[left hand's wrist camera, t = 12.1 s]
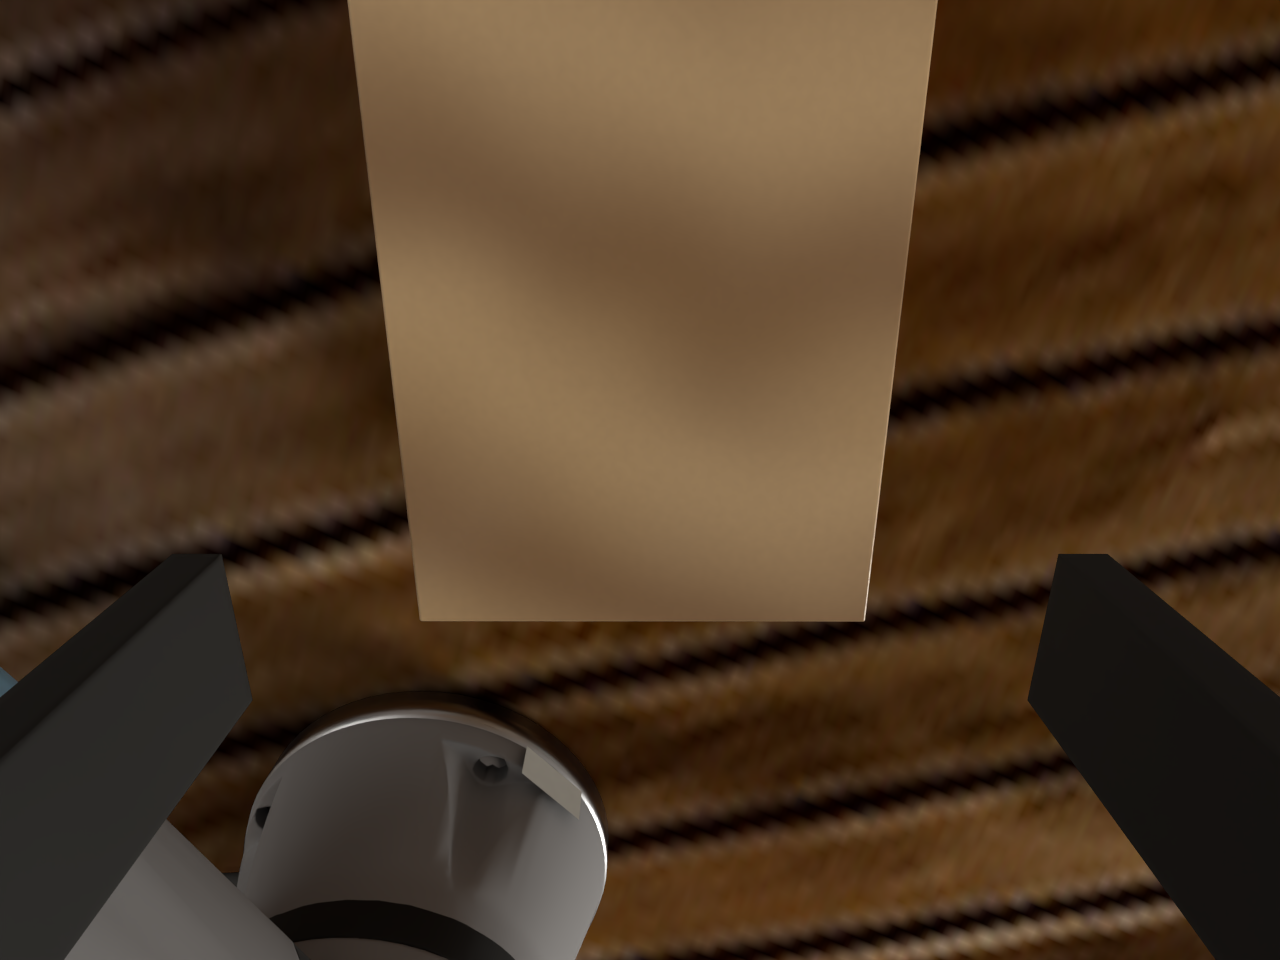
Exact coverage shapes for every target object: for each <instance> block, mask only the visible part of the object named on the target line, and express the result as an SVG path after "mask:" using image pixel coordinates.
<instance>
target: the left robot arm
mask: <svg viewBox="0 0 1280 960" xmlns="http://www.w3.org/2000/svg"><path fill="white" fill-rule="evenodd" d="M251 701H252V695H251V691H250V686H249V681H248V677H247V672H246V667H245V663H244V658H243V653H242V648H241V644H240V639H239V634H238V630H237V625H236V620H235V616H234V611H233V606H232V601H231V597H230V592H229V587H228V583H227V578H226V573H225V568H224V564H223V559H222V554H172V555H171V556H170V557H168V558H167V559H166V560H165V561H164V562H162V563H161V564H160V565H159V566H158V567H156V568H155V569H154V570H153V571H152V572H150V573H149V574H148V575H147V576H146V577H144V578H143V579H142V580H141V581H139V582H138V583H137V584H136V585H135V586H133V587H132V588H131V589H130V590H129V591H127V592H126V593H125V594H124V595H123V596H121V597H120V598H119V599H118V600H117V601H115V602H114V603H113V604H112V605H111V606H109V607H108V608H107V609H106V610H105V611H103V612H102V613H101V614H100V615H99V616H97V617H96V618H95V619H94V620H93V621H91V622H90V623H89V624H88V625H87V626H85V627H84V628H83V629H82V630H81V631H79V632H78V633H77V634H76V635H74V636H73V637H72V638H71V639H70V640H68V641H67V642H66V643H65V644H64V645H62V646H61V647H60V648H59V649H58V650H56V651H55V652H54V653H53V654H52V655H50V656H49V657H48V658H47V659H46V660H44V661H43V662H42V663H41V664H40V665H38V666H37V667H36V668H35V669H34V670H32V671H31V672H30V673H29V674H28V675H26V676H25V677H24V678H23V679H22V680H20V681H19V682H17V681H16V680H15V679H14V678H13V677H12V676H10V675H9V674H8V673H7V672H6V671H5V670H3V669H2V668H1V667H0V960H575V959H576V956H577V954H578V952H579V949H580V947H581V945H582V942H583V940H584V937H585V935H586V933H587V930H588V928H589V926H590V924H591V922H592V920H593V918H594V916H595V913H596V911H597V908H598V905H599V903H600V900H601V897H602V894H603V891H604V886H605V881H606V871H607V853H608V823H607V818H606V812H605V809H604V805H603V802H602V799H601V796H600V794H599V792H598V790H597V787H596V785H595V783H594V782H593V780H592V778H591V777H590V775H589V773H588V772H587V770H586V769H585V768H584V766H583V765H582V764H581V762H580V761H579V760H578V759H577V758H576V757H575V755H574V754H573V753H572V752H571V751H570V750H569V749H568V748H567V747H566V746H565V745H564V744H563V743H561V742H560V741H559V740H558V739H557V738H556V737H554V736H553V735H552V734H550V733H549V732H548V731H546V730H545V729H544V728H542V727H541V726H539V725H537V724H536V723H534V722H532V721H531V720H529V719H527V718H525V717H523V716H521V715H519V714H517V713H515V712H513V711H511V710H509V709H506V708H504V707H501V706H499V705H496V704H493V703H490V702H487V701H484V700H480V699H477V698H472V697H468V696H463V695H458V694H451V693H444V692H429V691H411V692H397V693H388V694H383V695H378V696H373V697H368V698H365V699H362V700H358V701H355V702H352V703H349V704H347V705H344V706H342V707H339V708H337V709H335V710H333V711H331V712H329V713H327V714H325V715H324V716H322V717H321V718H319V719H318V720H316V721H315V722H313V723H311V724H310V725H309V726H308V727H307V728H305V729H304V730H303V731H302V732H300V733H299V734H298V735H297V736H296V737H295V738H294V739H293V741H292V742H291V743H290V744H289V745H288V746H287V748H286V749H285V750H284V752H283V753H282V754H281V756H280V757H279V759H278V761H277V762H276V764H275V766H274V767H273V769H272V770H271V772H270V774H269V775H268V777H267V779H266V780H265V782H264V784H263V785H262V787H261V789H260V791H259V792H258V794H257V796H256V799H255V801H254V804H253V806H252V810H251V814H250V818H249V822H248V826H247V831H246V836H245V842H244V854H243V859H242V862H241V867H240V872H235V873H221V872H220V871H219V870H218V869H217V868H216V867H215V866H214V865H213V864H212V863H211V862H210V861H209V860H208V859H207V858H206V857H205V856H204V855H203V854H202V853H201V852H200V851H198V850H197V849H196V848H195V847H194V846H193V845H192V844H191V843H190V842H189V841H188V840H187V839H186V838H185V837H184V836H183V835H182V834H181V833H180V832H179V831H178V830H177V829H176V828H175V827H174V826H173V825H172V824H171V823H170V822H169V821H168V820H167V817H168V816H169V815H170V813H171V812H172V810H173V809H174V808H175V806H176V805H177V803H178V802H179V801H180V799H181V798H182V797H183V795H184V794H185V792H186V791H187V790H188V788H189V787H190V786H191V784H192V783H193V781H194V780H195V779H196V777H197V776H198V775H199V773H200V772H201V770H202V769H203V768H204V766H205V765H206V763H207V762H208V761H209V759H210V758H211V757H212V755H213V754H214V752H215V751H216V750H217V748H218V747H219V746H220V744H221V743H222V741H223V740H224V739H225V737H226V736H227V735H228V733H229V732H230V730H231V729H232V728H233V726H234V725H235V724H236V722H237V721H238V719H239V718H240V717H241V715H242V714H243V712H244V711H245V710H246V708H247V707H248V706H249V704H250V703H251ZM1028 701H1029V703H1030V704H1031V706H1032V707H1033V708H1034V710H1035V711H1036V712H1037V714H1038V715H1039V717H1040V718H1041V719H1042V721H1043V722H1044V724H1045V725H1046V726H1047V728H1048V729H1049V730H1050V732H1051V733H1052V735H1053V736H1054V737H1055V739H1056V740H1057V741H1058V743H1059V744H1060V746H1061V747H1062V748H1063V750H1064V751H1065V752H1066V754H1067V755H1068V757H1069V758H1070V759H1071V761H1072V762H1073V763H1074V765H1075V766H1076V768H1077V769H1078V770H1079V772H1080V773H1081V775H1082V776H1083V777H1084V779H1085V780H1086V781H1087V783H1088V784H1089V786H1090V787H1091V788H1092V790H1093V791H1094V792H1095V794H1096V795H1097V797H1098V798H1099V799H1100V801H1101V802H1102V803H1103V805H1104V806H1105V808H1106V809H1107V810H1108V812H1109V813H1110V815H1111V816H1112V817H1113V819H1114V820H1115V821H1116V823H1117V824H1118V826H1119V827H1120V828H1121V830H1122V831H1123V832H1124V834H1125V835H1126V837H1127V838H1128V839H1129V841H1130V842H1131V843H1132V845H1133V846H1134V848H1135V849H1136V850H1137V852H1138V853H1139V855H1140V856H1141V857H1142V859H1143V860H1144V861H1145V863H1146V864H1147V866H1148V867H1149V868H1150V870H1151V871H1152V872H1153V874H1154V875H1155V877H1156V878H1157V879H1158V881H1159V882H1160V883H1161V885H1162V886H1163V888H1164V889H1165V890H1166V892H1167V893H1168V894H1169V896H1170V897H1171V899H1172V900H1173V901H1174V903H1175V904H1176V906H1177V907H1178V908H1179V910H1180V911H1181V912H1182V914H1183V915H1184V917H1185V918H1186V919H1187V921H1188V922H1189V923H1190V925H1191V926H1192V928H1193V929H1194V930H1195V932H1196V933H1197V934H1198V936H1199V937H1200V939H1201V940H1202V941H1203V943H1204V944H1205V946H1206V947H1207V948H1208V950H1209V951H1210V952H1211V954H1212V955H1213V957H1214V958H1215V959H1216V960H1280V697H1279V696H1278V695H1277V694H1275V693H1274V692H1273V691H1272V690H1271V689H1269V688H1268V687H1267V686H1266V685H1264V684H1263V683H1262V682H1261V681H1260V680H1258V679H1257V678H1256V677H1255V676H1254V675H1252V674H1251V673H1250V672H1249V671H1248V670H1246V669H1245V668H1244V667H1243V666H1242V665H1240V664H1239V663H1238V662H1237V661H1236V660H1234V659H1233V658H1232V657H1231V656H1230V655H1228V654H1227V653H1226V652H1225V651H1224V650H1222V649H1221V648H1220V647H1219V646H1218V645H1216V644H1215V643H1214V642H1213V641H1212V640H1210V639H1209V638H1208V637H1207V636H1206V635H1204V634H1203V633H1202V632H1201V631H1199V630H1198V629H1197V628H1196V627H1195V626H1193V625H1192V624H1191V623H1190V622H1189V621H1187V620H1186V619H1185V618H1184V617H1183V616H1181V615H1180V614H1179V613H1178V612H1177V611H1175V610H1174V609H1173V608H1172V607H1171V606H1169V605H1168V604H1167V603H1166V602H1165V601H1163V600H1162V599H1161V598H1160V597H1159V596H1157V595H1156V594H1155V593H1154V592H1153V591H1151V590H1150V589H1149V588H1148V587H1147V586H1145V585H1144V584H1143V583H1142V582H1141V581H1139V580H1138V579H1137V578H1136V577H1134V576H1133V575H1132V574H1131V573H1130V572H1128V571H1127V570H1126V569H1125V568H1124V567H1122V566H1121V565H1120V564H1119V563H1118V562H1116V561H1115V560H1114V559H1113V558H1112V557H1110V556H1109V555H1108V554H1058V559H1057V564H1056V568H1055V573H1054V578H1053V583H1052V587H1051V592H1050V597H1049V601H1048V606H1047V611H1046V616H1045V620H1044V625H1043V630H1042V634H1041V639H1040V644H1039V648H1038V653H1037V658H1036V663H1035V667H1034V672H1033V677H1032V681H1031V686H1030V691H1029V695H1028Z"/></svg>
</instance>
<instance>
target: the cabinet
mask: <svg viewBox="0 0 1280 960" xmlns="http://www.w3.org/2000/svg"><path fill="white" fill-rule="evenodd" d="M347 1H348V10H349V18H350V27H351V35H352V44H353V53H354V61H355V70H356V78H357V87H358V95H359V104H360V112H361V121H362V129H363V138H364V147H365V155H366V164H367V172H368V181H369V189H370V198H371V206H372V215H373V223H374V232H375V241H376V249H377V258H378V266H379V275H380V283H381V292H382V300H383V309H384V317H385V326H386V335H387V343H388V352H389V360H390V369H391V377H392V386H393V394H394V403H395V411H396V420H397V429H398V437H399V446H400V454H401V463H402V471H403V480H404V488H405V497H406V505H407V514H408V523H409V531H410V540H411V548H412V557H413V565H414V574H415V582H416V591H417V599H418V608H419V617H420V621H865V616H866V607H867V599H868V590H869V582H870V573H871V564H872V556H873V547H874V539H875V530H876V522H877V513H878V505H879V496H880V488H881V479H882V471H883V462H884V454H885V445H886V437H887V428H888V420H889V411H890V402H891V394H892V385H893V377H894V368H895V360H896V351H897V343H898V334H899V326H900V317H901V309H902V300H903V292H904V283H905V275H906V266H907V257H908V249H909V240H910V232H911V223H912V215H913V206H914V198H915V189H916V181H917V172H918V164H919V155H920V147H921V138H922V130H923V121H924V112H925V104H926V95H927V87H928V78H929V70H930V61H931V53H932V44H933V36H934V27H935V19H936V10H937V2H938V0H347Z"/></svg>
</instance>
